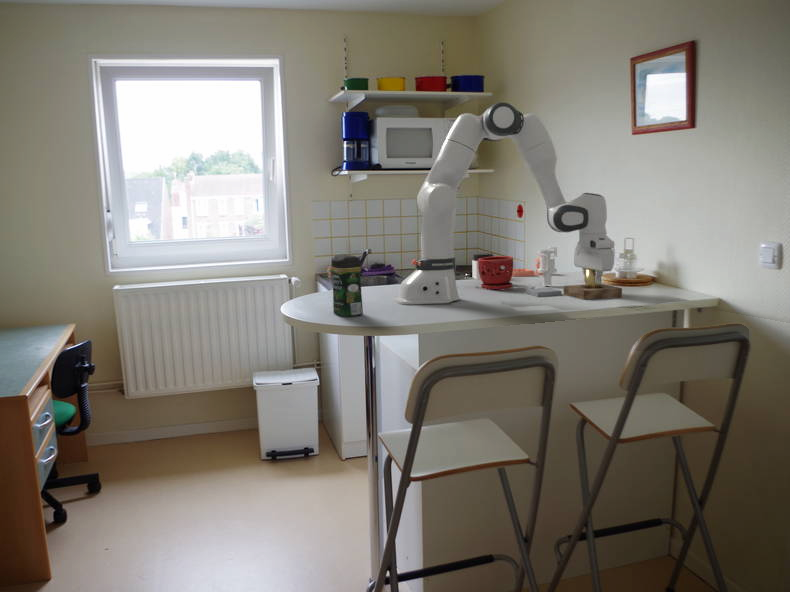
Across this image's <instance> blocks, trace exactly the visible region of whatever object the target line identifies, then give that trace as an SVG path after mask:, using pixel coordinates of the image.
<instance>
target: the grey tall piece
mask: <svg viewBox="0 0 790 592" xmlns="http://www.w3.org/2000/svg"><path fill="white" fill-rule="evenodd" d="M557 253H558V247H557V246H548V249H538V250H537V254H540V255H544V256H542V257H540V256H539V258H540V269H538V273H543V275H542V286H543V285H551V286H552V274H555V273H557V270H558V269H557V268H556V266H555V264H556V261H555V258H556V257H557V256H558V254H557ZM553 257H555V258H553Z"/></svg>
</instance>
